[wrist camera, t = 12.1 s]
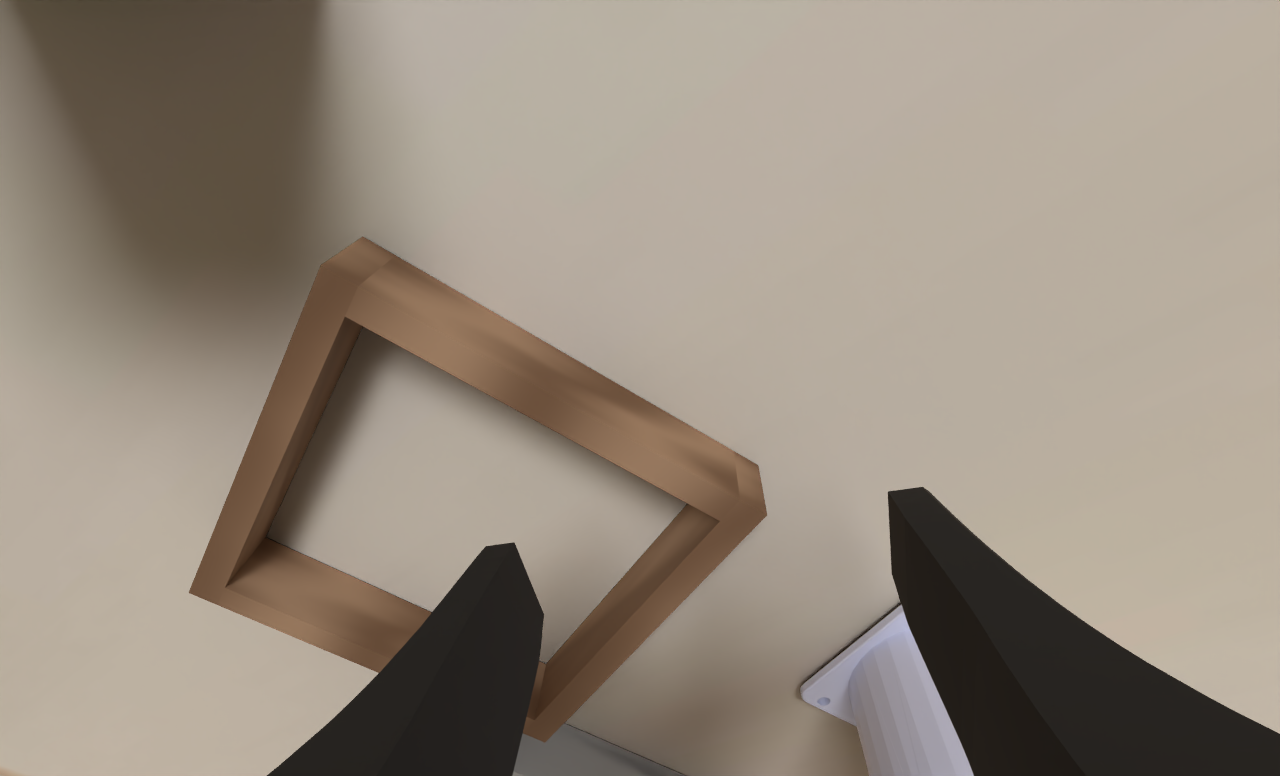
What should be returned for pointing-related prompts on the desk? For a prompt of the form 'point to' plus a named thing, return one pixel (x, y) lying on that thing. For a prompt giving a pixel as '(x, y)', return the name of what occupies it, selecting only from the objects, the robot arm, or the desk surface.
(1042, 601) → the robot arm
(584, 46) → the desk surface
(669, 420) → the square wooden frame
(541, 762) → the tray
